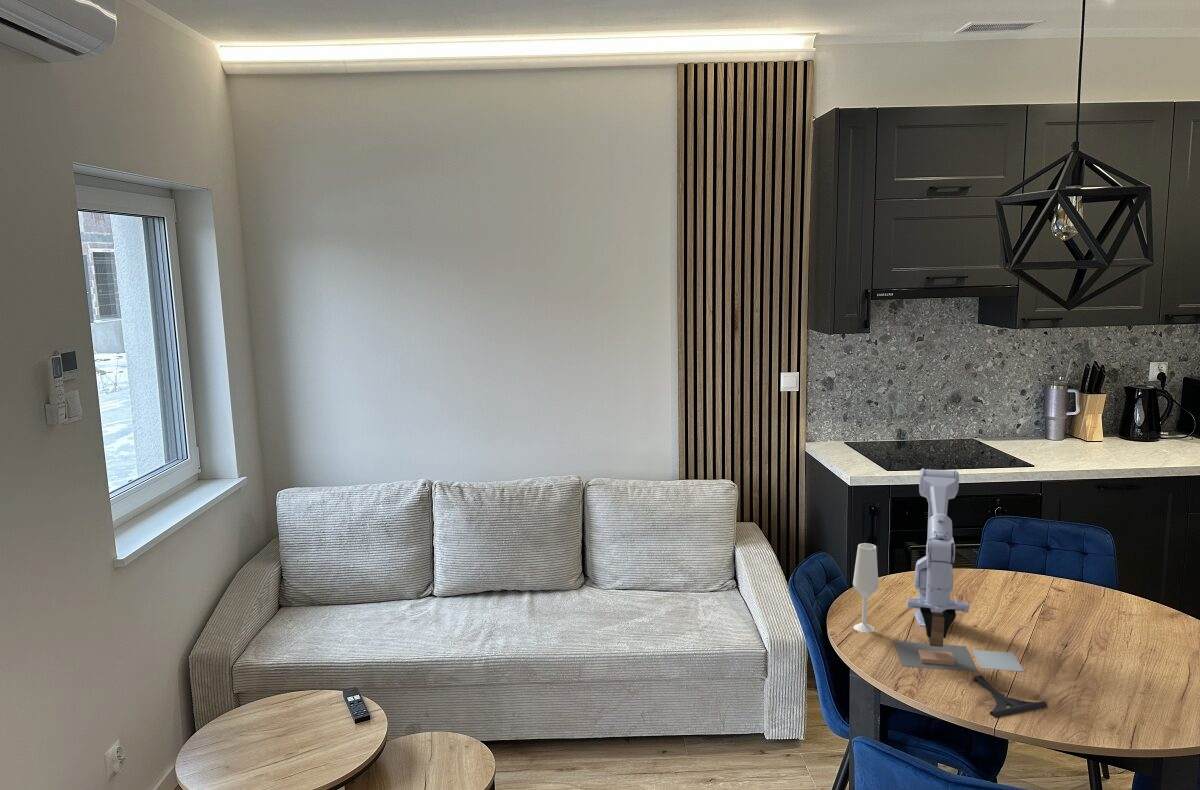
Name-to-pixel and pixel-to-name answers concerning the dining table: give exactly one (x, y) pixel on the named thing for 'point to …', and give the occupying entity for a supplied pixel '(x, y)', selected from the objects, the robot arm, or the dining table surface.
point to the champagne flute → (865, 579)
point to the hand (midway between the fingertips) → (935, 636)
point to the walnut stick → (937, 629)
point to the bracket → (1008, 701)
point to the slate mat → (910, 650)
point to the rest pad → (997, 660)
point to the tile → (936, 657)
